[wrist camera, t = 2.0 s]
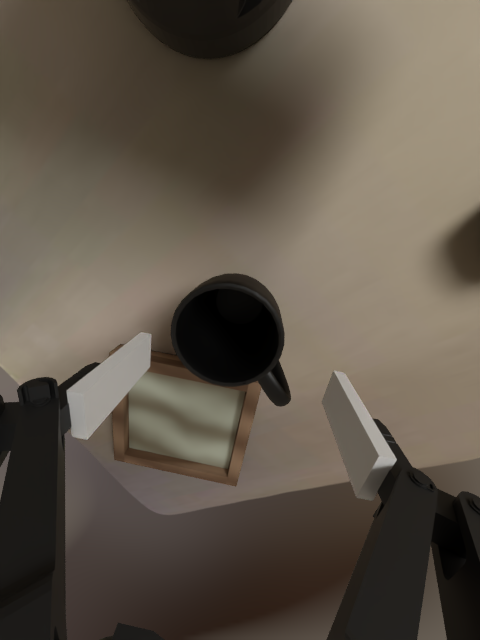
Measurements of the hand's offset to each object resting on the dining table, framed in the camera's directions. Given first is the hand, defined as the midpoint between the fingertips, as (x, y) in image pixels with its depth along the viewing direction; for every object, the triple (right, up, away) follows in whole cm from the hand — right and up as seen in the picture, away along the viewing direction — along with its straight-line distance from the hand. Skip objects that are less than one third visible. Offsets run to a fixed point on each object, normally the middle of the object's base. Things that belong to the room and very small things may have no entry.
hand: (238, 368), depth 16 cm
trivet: (-7, -10, +15) cm, 19 cm away
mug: (+1, +4, +9) cm, 10 cm away
